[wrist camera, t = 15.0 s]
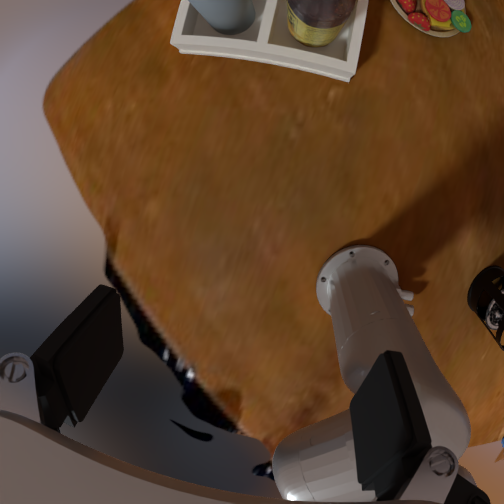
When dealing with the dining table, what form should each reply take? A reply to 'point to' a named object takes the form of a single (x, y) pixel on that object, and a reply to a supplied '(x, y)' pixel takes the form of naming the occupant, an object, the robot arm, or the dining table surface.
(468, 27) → the toy food set
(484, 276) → the french press
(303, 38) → the sauce bottle
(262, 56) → the condiment caddy
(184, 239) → the dining table surface
